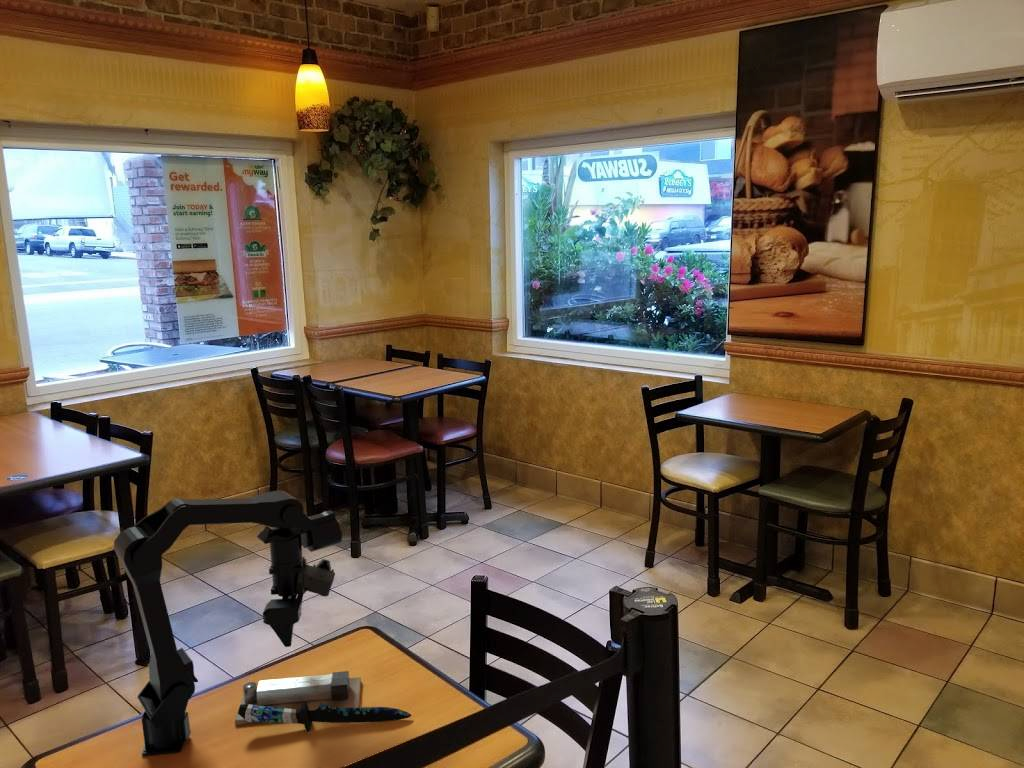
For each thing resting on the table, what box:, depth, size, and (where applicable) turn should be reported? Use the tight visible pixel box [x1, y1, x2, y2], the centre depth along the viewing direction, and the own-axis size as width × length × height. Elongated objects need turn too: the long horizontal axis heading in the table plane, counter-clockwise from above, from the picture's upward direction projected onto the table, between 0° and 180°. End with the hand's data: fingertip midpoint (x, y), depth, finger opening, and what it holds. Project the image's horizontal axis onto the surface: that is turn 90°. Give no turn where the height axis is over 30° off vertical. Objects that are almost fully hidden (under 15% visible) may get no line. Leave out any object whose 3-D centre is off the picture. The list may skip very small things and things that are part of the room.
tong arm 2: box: [257, 670, 350, 688], centre depth 147 cm, size 16×2×3 cm, turn 98°
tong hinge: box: [242, 681, 258, 705], centre depth 144 cm, size 2×2×3 cm
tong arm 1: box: [257, 678, 349, 706], centre depth 144 cm, size 16×2×3 cm, turn 98°
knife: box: [237, 701, 412, 733], centre depth 139 cm, size 31×3×4 cm, turn 93°
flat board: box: [234, 676, 362, 726], centre depth 146 cm, size 22×10×1 cm, turn 98°
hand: (292, 633), depth 148 cm, fingers open, 9 cm apart
